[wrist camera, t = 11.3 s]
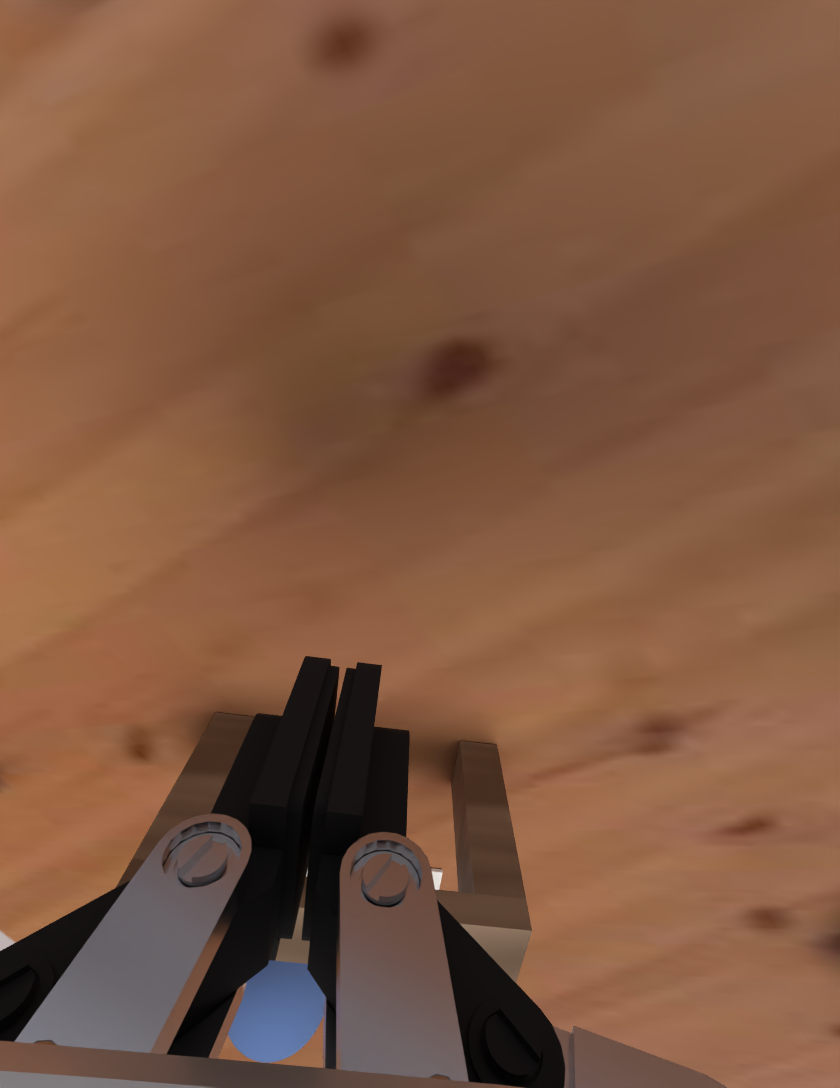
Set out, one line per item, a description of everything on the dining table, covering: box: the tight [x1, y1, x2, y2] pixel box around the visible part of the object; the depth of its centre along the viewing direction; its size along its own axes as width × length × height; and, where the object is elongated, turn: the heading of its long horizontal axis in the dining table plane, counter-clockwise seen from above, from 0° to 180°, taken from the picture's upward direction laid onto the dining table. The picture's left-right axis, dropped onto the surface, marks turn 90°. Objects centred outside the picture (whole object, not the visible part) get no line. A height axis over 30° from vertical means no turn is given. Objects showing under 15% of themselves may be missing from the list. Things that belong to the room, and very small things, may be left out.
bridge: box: [116, 712, 532, 983], centre depth 24 cm, size 3×15×10 cm, turn 82°
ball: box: [228, 960, 325, 1062], centre depth 31 cm, size 6×6×6 cm
